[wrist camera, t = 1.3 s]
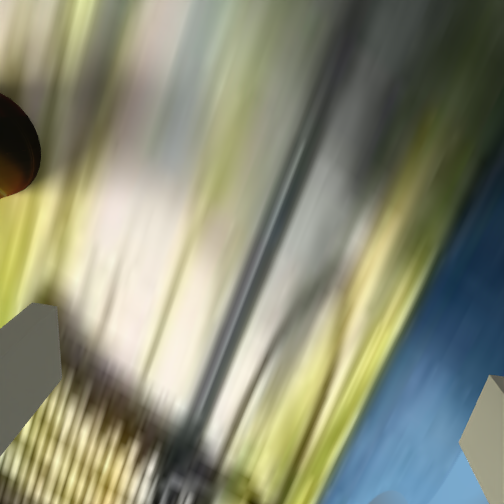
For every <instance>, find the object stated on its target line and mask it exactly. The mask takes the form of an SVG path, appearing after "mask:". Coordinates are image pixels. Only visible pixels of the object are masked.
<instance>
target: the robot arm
mask: <svg viewBox="0 0 504 504" xmlns="http://www.w3.org/2000/svg"><path fill="white" fill-rule="evenodd" d="M61 379H62V372H61V357H60V343H59V329H58V315H57V306H50V305H44V304H38V303H31V304H30V305H29V306H28V307H27V308H25V309H24V310H23V311H22V312H20V313H19V314H18V315H17V316H16V317H14V318H13V319H12V320H11V321H9V322H8V323H7V324H6V325H4V326H3V327H2V328H1V329H0V456H1V455H2V453H3V452H4V451H5V450H6V448H7V447H8V446H9V445H10V443H11V442H12V441H13V440H14V438H15V437H16V436H17V435H18V433H19V432H20V431H21V429H22V428H23V427H24V426H25V424H26V423H27V422H28V421H29V419H30V418H31V417H32V416H33V414H34V413H35V412H36V411H37V409H38V408H39V407H40V405H41V404H42V403H43V402H44V400H45V399H46V398H47V397H48V395H49V394H50V393H51V392H52V390H53V389H54V388H55V387H56V385H57V384H58V383H59V381H60V380H61ZM459 444H460V446H461V448H462V450H463V452H464V454H465V456H466V458H467V460H468V462H469V464H470V466H471V468H472V470H473V472H474V474H475V476H476V478H477V480H478V482H479V484H480V486H481V488H482V490H483V492H484V494H485V496H486V498H487V500H488V502H489V504H504V377H502V376H495V375H489V377H488V379H487V381H486V384H485V386H484V388H483V390H482V392H481V395H480V397H479V399H478V401H477V403H476V406H475V408H474V410H473V412H472V415H471V417H470V419H469V421H468V423H467V426H466V428H465V430H464V432H463V434H462V437H461V439H460V441H459Z"/></svg>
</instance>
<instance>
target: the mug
mask: <svg viewBox="0 0 504 504" xmlns="http://www.w3.org/2000/svg"><path fill="white" fill-rule="evenodd" d="M40 161H41V148H40V143H39V139H38V135H37V133H36V131H35V128H34V126H33V124H32V123H31V121H30V119H29V118H28V116H27V115H26V114H25V113H24V111H23V110H22V109H21V108H20V107H19V106H18V105H17V104H16V103H15V102H13V101H12V100H11V99H10V98H8V97H6V96H5V95H3V94H1V93H0V199H1V198H3V197H6V196H9V195H12V194H15V193H18V192H20V191H21V190H23V189H25V188H26V187H27V186H29V185H30V184H31V183H32V181H33V180H34V178H35V177H36V175H37V172H38V170H39V167H40Z"/></svg>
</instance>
